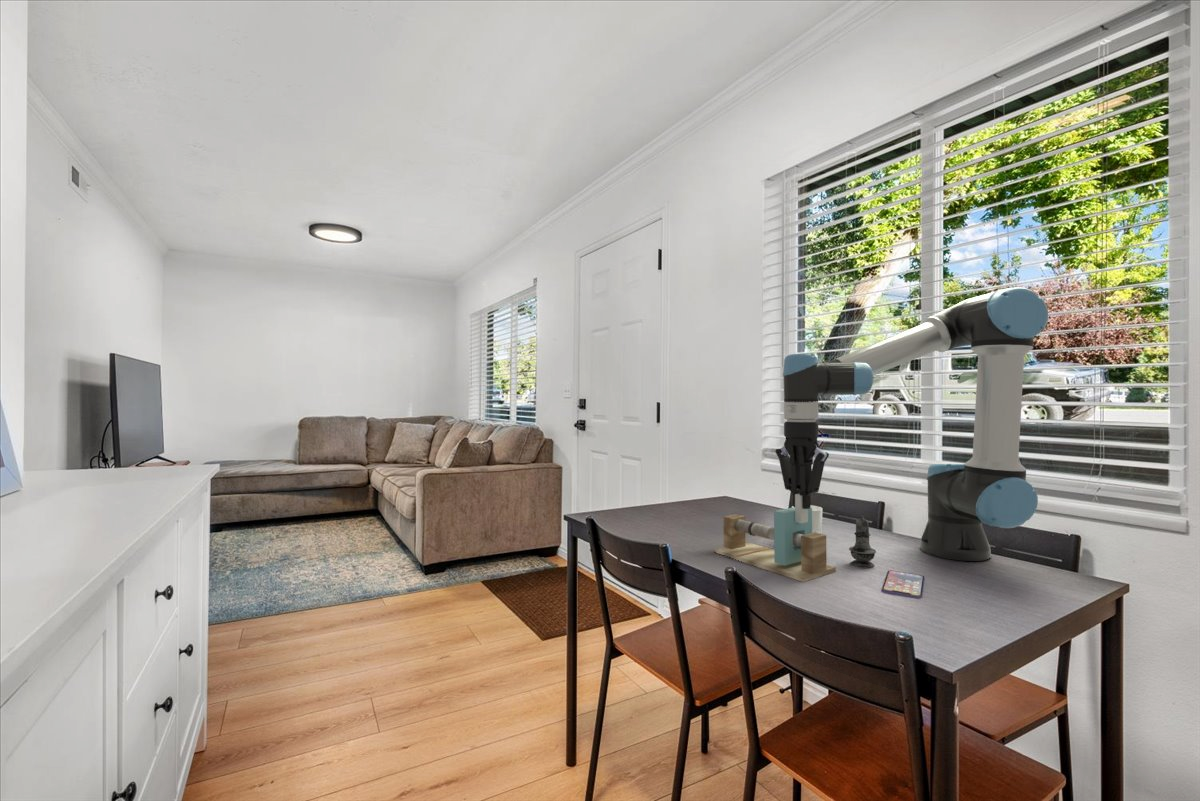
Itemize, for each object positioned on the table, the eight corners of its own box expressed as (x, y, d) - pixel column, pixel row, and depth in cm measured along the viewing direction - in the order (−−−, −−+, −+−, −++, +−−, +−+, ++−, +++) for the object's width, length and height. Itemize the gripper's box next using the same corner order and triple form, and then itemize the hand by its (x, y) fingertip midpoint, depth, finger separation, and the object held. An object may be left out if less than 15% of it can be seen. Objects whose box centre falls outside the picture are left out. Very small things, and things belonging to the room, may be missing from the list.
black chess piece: (870, 561, 133) (870, 512, 133) (880, 568, 128) (880, 517, 128) (845, 560, 134) (845, 512, 134) (854, 568, 128) (854, 517, 128)
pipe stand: (835, 571, 126) (835, 532, 126) (803, 581, 119) (802, 540, 119) (745, 545, 148) (745, 512, 148) (714, 552, 142) (713, 518, 142)
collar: (812, 557, 130) (811, 507, 130) (785, 565, 124) (784, 513, 124) (801, 554, 132) (801, 505, 132) (774, 562, 127) (774, 510, 127)
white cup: (786, 541, 153) (786, 505, 153) (812, 539, 154) (812, 504, 154) (802, 548, 145) (801, 511, 145) (828, 546, 146) (828, 509, 146)
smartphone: (925, 579, 121) (922, 601, 108) (887, 573, 125) (880, 593, 112) (925, 575, 121) (922, 597, 108) (887, 569, 125) (880, 589, 112)
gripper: (767, 420, 129) (768, 519, 130) (815, 422, 119) (816, 530, 119) (787, 419, 134) (788, 515, 134) (836, 421, 123) (836, 525, 123)
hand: (801, 521), depth 126 cm, fingers closed
